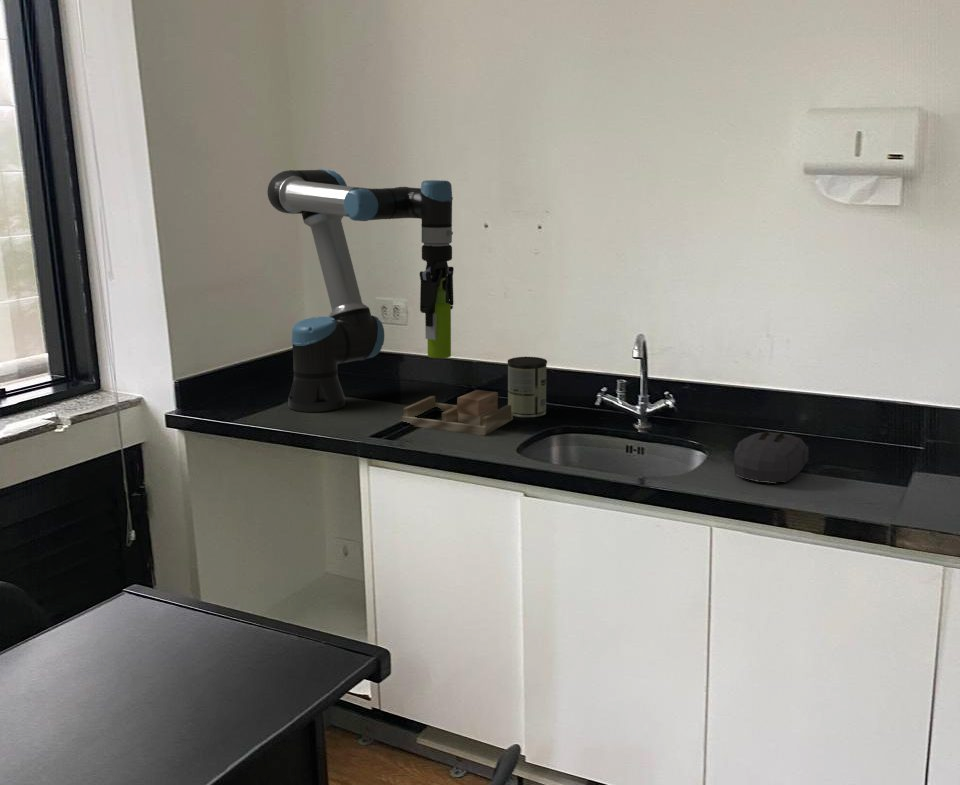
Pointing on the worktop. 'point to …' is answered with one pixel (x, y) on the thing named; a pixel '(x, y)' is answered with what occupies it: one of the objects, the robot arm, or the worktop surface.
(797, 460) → the slotted dark dome
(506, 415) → the rack
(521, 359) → the coffee can
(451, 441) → the worktop surface
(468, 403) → the upper offcut
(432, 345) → the soap dispenser
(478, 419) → the lower offcut
